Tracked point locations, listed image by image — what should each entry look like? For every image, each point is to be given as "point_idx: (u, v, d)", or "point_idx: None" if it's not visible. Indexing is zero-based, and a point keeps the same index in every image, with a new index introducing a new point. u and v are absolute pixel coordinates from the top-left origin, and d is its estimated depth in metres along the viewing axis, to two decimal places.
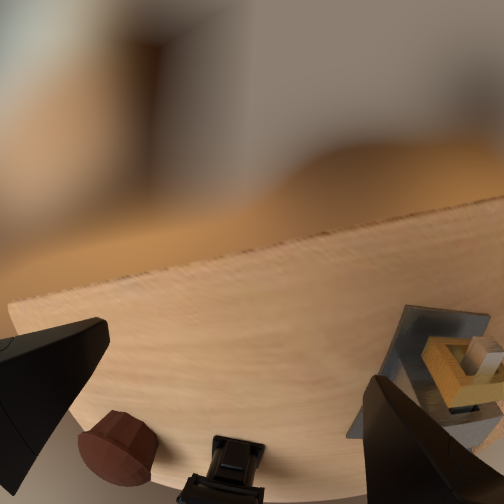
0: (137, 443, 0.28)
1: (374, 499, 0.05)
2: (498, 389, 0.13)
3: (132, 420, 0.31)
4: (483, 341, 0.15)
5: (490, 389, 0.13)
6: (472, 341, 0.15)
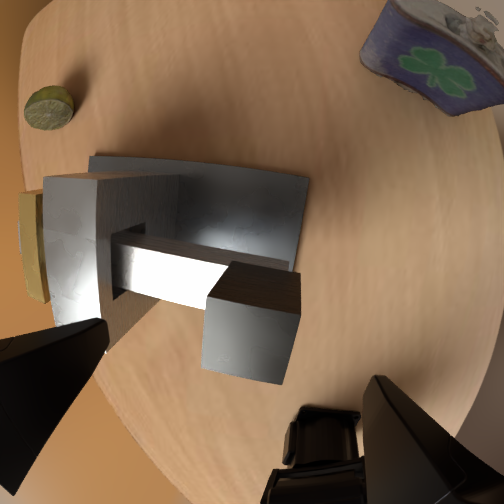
0: None
1: (374, 499, 0.05)
2: (24, 224, 0.13)
3: None
4: None
5: (25, 243, 0.13)
6: None
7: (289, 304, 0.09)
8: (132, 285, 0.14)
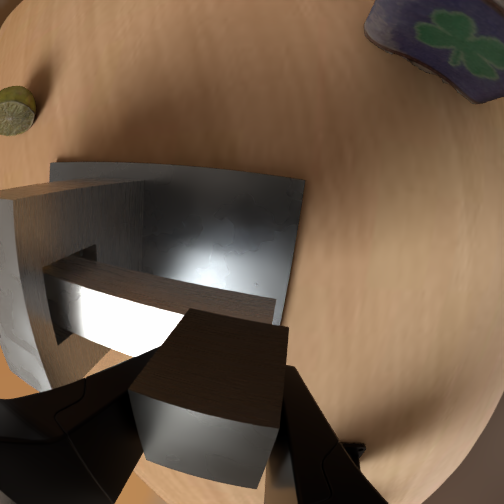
0: None
1: (266, 497, 0.05)
2: None
3: None
4: None
5: None
6: None
7: (262, 404, 0.05)
8: (76, 328, 0.10)
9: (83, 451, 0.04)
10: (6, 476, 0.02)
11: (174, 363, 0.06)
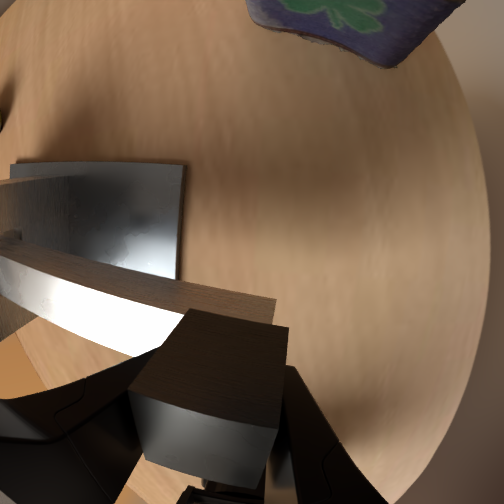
0: None
1: (266, 497, 0.05)
2: None
3: None
4: None
5: None
6: None
7: (262, 404, 0.05)
8: (76, 328, 0.10)
9: (83, 451, 0.04)
10: (6, 476, 0.02)
11: (174, 363, 0.06)
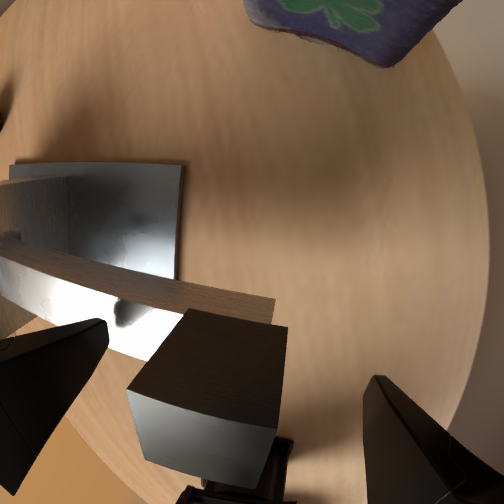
0: None
1: (374, 499, 0.05)
2: None
3: None
4: None
5: None
6: None
7: (260, 404, 0.05)
8: None
9: None
10: None
11: (173, 363, 0.06)
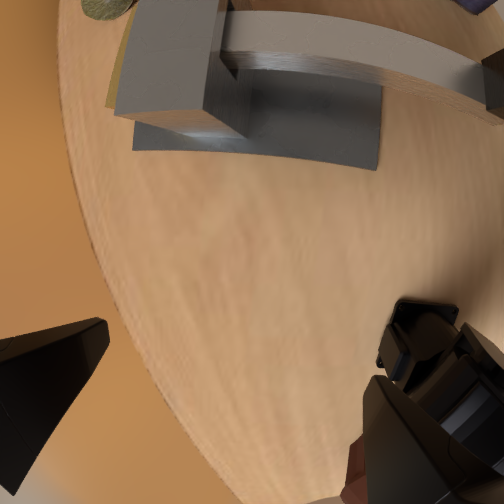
0: None
1: (374, 499, 0.05)
2: None
3: (357, 443, 0.24)
4: None
5: None
6: None
7: None
8: (398, 66, 0.09)
9: None
10: None
11: None
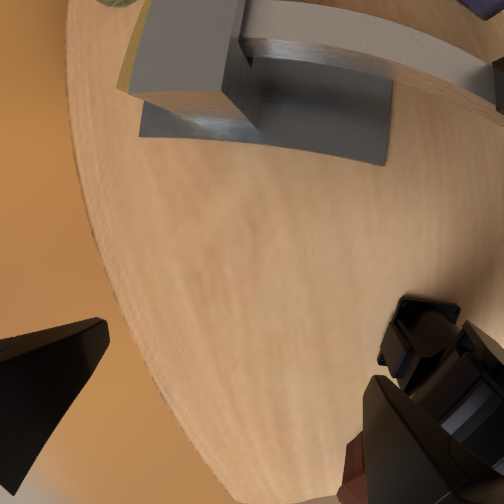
0: None
1: (374, 499, 0.05)
2: None
3: (354, 442, 0.24)
4: None
5: (141, 29, 0.11)
6: None
7: None
8: (413, 62, 0.09)
9: None
10: None
11: None
